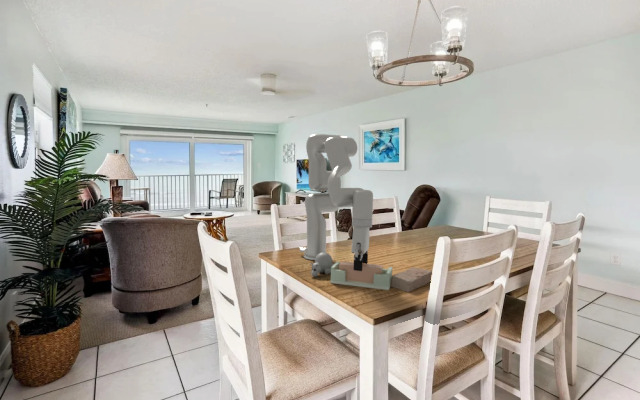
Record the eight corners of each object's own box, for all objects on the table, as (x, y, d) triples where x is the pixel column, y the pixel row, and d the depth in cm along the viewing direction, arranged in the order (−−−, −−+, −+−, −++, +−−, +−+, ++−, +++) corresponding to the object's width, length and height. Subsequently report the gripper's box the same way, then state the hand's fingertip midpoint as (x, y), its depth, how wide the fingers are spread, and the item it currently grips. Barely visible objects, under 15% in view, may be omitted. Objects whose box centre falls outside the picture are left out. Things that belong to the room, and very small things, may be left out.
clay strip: (338, 279, 126) (339, 264, 126) (341, 276, 130) (341, 261, 130) (380, 284, 121) (381, 268, 121) (382, 280, 125) (382, 265, 125)
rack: (330, 282, 125) (330, 267, 125) (337, 275, 134) (337, 261, 133) (388, 290, 118) (389, 273, 118) (392, 282, 126) (392, 266, 126)
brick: (409, 293, 116) (409, 280, 116) (389, 287, 122) (389, 274, 122) (432, 282, 127) (433, 270, 127) (413, 277, 133) (413, 266, 133)
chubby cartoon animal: (307, 280, 136) (301, 263, 133) (325, 264, 144) (320, 247, 141) (320, 284, 131) (314, 266, 128) (338, 267, 139) (333, 250, 136)
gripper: (357, 218, 133) (356, 259, 135) (346, 225, 117) (345, 272, 119) (376, 219, 131) (374, 261, 133) (367, 227, 115) (365, 275, 117)
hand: (360, 266), depth 126 cm, fingers open, 9 cm apart
